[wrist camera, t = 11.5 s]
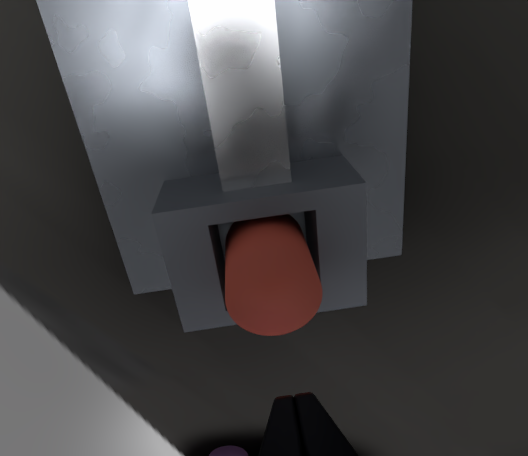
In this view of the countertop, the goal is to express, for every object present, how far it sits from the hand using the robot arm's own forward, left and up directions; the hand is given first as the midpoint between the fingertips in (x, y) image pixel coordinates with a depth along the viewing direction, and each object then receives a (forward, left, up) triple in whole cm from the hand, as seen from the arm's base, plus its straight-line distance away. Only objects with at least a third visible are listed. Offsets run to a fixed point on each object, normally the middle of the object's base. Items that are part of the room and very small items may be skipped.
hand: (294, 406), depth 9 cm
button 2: (0, 0, -7) cm, 7 cm away
